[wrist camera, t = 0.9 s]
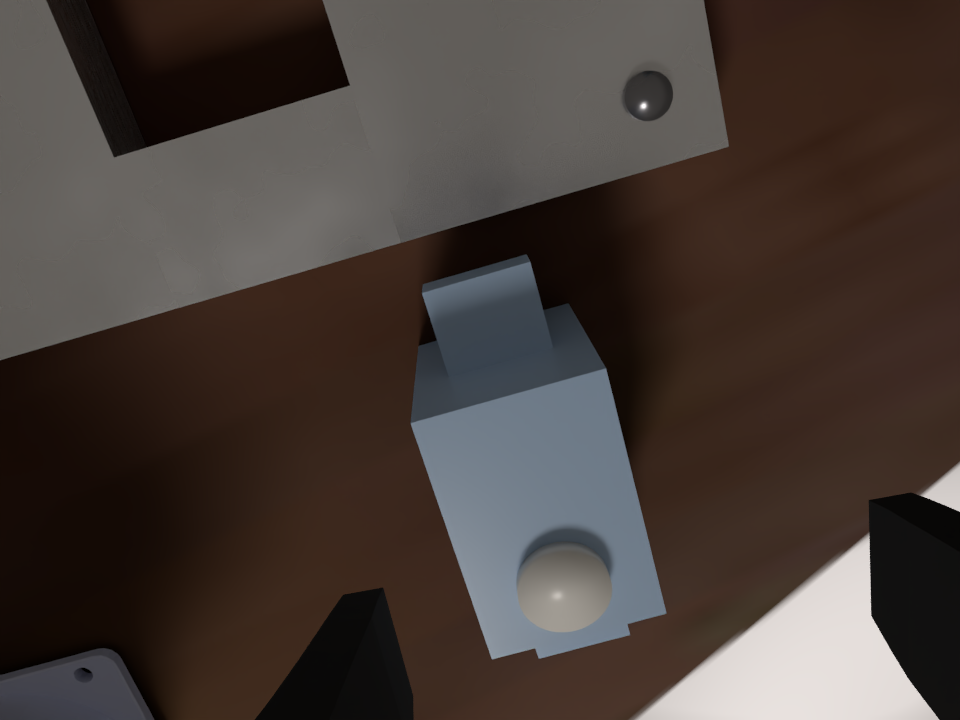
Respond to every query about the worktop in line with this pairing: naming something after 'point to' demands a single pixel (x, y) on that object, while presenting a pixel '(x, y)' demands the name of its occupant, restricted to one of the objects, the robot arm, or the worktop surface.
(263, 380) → the worktop surface
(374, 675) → the robot arm
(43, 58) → the plate
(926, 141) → the worktop surface
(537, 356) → the servo
